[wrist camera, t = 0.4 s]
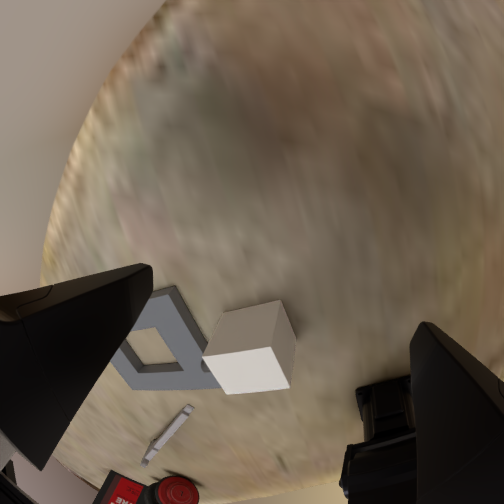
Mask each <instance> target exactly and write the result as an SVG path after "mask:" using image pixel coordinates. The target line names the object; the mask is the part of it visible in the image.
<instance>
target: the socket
mask: <svg viewBox="0 0 504 504" xmlns="http://www.w3.org/2000/svg"><path fill="white" fill-rule="evenodd" d="M153 327H156V329H157V331H158V332H159V334H160V335H161V337H162V339H163V340H164V342H165V343H166V345H167V346H168V348H169V349H170V351H171V352H172V354H173V355H174V357H175V358H176V360H177V361H178V363H169V364H156V365H143V364H142V362H141V361H140V360H139V358H138V357H137V355H136V354H135V353H134V351H133V350H132V348H131V347H130V345H129V344H128V342H127V341H126V340H124V341H123V343H122V344H121V346H120V347H119V349H118V350H117V351H116V353H115V354H114V356H113V357H112V359H111V360H110V362H111V363H112V365H113V366H114V367H115V368H116V370H117V371H118V372H119V374H120V375H121V376H122V378H123V379H124V380H125V381H126V383H127V384H128V385H129V386H130V387H131V389H132V390H193V389H212V388H222V387H221V386H220V384H219V383H218V381H217V380H216V378H215V377H214V375H213V374H212V372H207V373H204V372H203V371H202V369H201V361H202V359H203V358H202V355H203V353H204V351H205V349H206V347H207V345H208V343H207V342H206V340H205V338H204V337H203V335H202V333H201V332H200V330H199V328H198V326H197V325H196V323H195V321H194V319H193V318H192V316H191V314H190V312H189V310H188V309H187V307H186V305H185V303H184V301H183V300H182V298H181V296H180V294H179V292H178V290H177V288H176V287H175V286H173V287H169V288H165V289H162V290H158V291H154V292H152V295H151V296H150V298H149V300H148V302H147V303H146V305H145V307H144V309H143V311H142V312H141V314H140V316H139V318H138V320H137V322H136V323H135V325H134V327H133V328H132V330H131V331H135V330H141V329H147V328H153Z"/></svg>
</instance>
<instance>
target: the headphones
mask: <svg viewBox="0 0 504 504" xmlns="http://www.w3.org/2000/svg"><path fill="white" fill-rule="evenodd" d="M144 499H145V502H146V504H198V502H199V493H198V490H197V488H196V487H195V485H194V484H193V483H192V482H191V481H190V480H188V479H186V478H184V477H181V476H167V477H165V478H163V479H162V480H160V481H159V482H156V483H153V484H151V485H150V486H148V487H147V489H146V490H145V493H144Z"/></svg>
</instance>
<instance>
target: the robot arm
mask: <svg viewBox="0 0 504 504" xmlns="http://www.w3.org/2000/svg"><path fill="white" fill-rule="evenodd" d="M152 292H153V269H152V267H151V266H150V265H147V264H143V263H138V264H134V265H130V266H126V267H122V268H117V269H113V270H109V271H105V272H101V273H97V274H93V275H89V276H85V277H81V278H77V279H73V280H69V281H65V282H61V283H57V284H54V286H53V285H49V286H45V287H41V288H37V289H33V290H28V291H23V292H19V293H14V294H9V295H4V296H0V504H38V503H37V502H36V501H34V500H33V499H32V498H31V497H29V496H28V495H27V494H26V493H25V492H24V491H22V490H21V489H20V488H19V487H18V486H17V483H16V478H15V473H14V466H13V461H11V459H10V458H11V457H12V456H13V455H14V453H15V452H16V451H17V452H18V453H19V454H20V455H21V456H22V457H24V458H25V459H26V460H27V461H28V462H30V463H31V464H32V465H33V466H34V467H36V468H37V469H38V470H39V471H42V470H43V468H44V467H45V465H46V463H47V461H48V460H49V458H50V456H51V454H52V453H53V451H54V449H55V447H56V446H57V444H58V442H59V441H60V439H61V437H62V436H63V434H64V432H65V431H66V429H67V427H68V426H69V424H70V422H71V421H72V419H73V417H74V416H75V414H76V413H77V411H78V409H79V408H80V406H81V405H82V403H83V401H84V400H85V398H86V397H87V395H88V394H89V392H90V391H91V389H92V387H93V386H94V384H95V383H96V381H97V380H98V378H99V377H100V375H101V374H102V372H103V371H104V369H105V368H106V366H107V365H108V363H109V362H110V360H111V359H112V357H113V356H114V354H115V353H116V351H117V350H118V349H119V347H120V346H121V344H122V343H123V341H124V340H125V338H126V337H127V336H128V334H129V333H130V331H131V330H132V328H133V327H134V325H135V323H136V322H137V320H138V318H139V316H140V314H141V312H142V311H143V309H144V307H145V305H146V303H147V302H148V300H149V298H150V296H151V295H152ZM410 367H411V375H410V376H406V377H402V378H399V379H395V380H391V381H388V382H384V383H380V384H376V385H372V386H367V387H363V388H359V389H357V390H356V391H355V393H356V398H357V403H358V407H359V411H360V415H361V420H362V421H363V426H364V442H362V443H358V444H350V445H347V450H346V452H345V457H344V463H343V468H342V474H341V478H340V481H339V486H340V487H341V488H343V492H344V495H345V497H346V498H347V499H348V504H504V382H503V381H502V380H501V379H499V378H498V377H497V376H496V375H495V374H494V373H492V372H491V371H490V370H489V369H488V368H487V367H486V366H484V365H483V364H482V363H481V362H480V361H478V360H477V359H476V358H475V357H474V356H473V355H471V354H470V353H469V352H468V351H467V350H465V349H464V348H463V347H462V346H461V345H459V344H458V343H457V342H456V341H454V340H453V339H452V338H451V337H449V336H448V335H447V334H446V333H445V332H443V331H442V330H441V329H440V328H438V327H437V326H436V325H434V324H433V323H431V322H421V323H420V324H419V326H418V328H417V330H416V332H415V334H414V336H413V338H412V340H411V342H410Z"/></svg>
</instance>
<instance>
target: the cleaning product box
mask: <svg viewBox="0 0 504 504" xmlns="http://www.w3.org/2000/svg"><path fill="white" fill-rule="evenodd" d="M147 487H148V486H146V485H144V484H141V483H139V482H137V481H134V480H132V479H130V478H128V477H125V476H123V475H121V474H119V473H117V472H115V471H113V470H111V471H110V472H109V474H108V476H107V478H106V480H105V482H104V483H103V485H102V487H101V489H100V491H99V493H98V494H97V496H96V498H95V500H94V502H93V504H146V502H145V499H144V493H145V490H146V489H147Z"/></svg>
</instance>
